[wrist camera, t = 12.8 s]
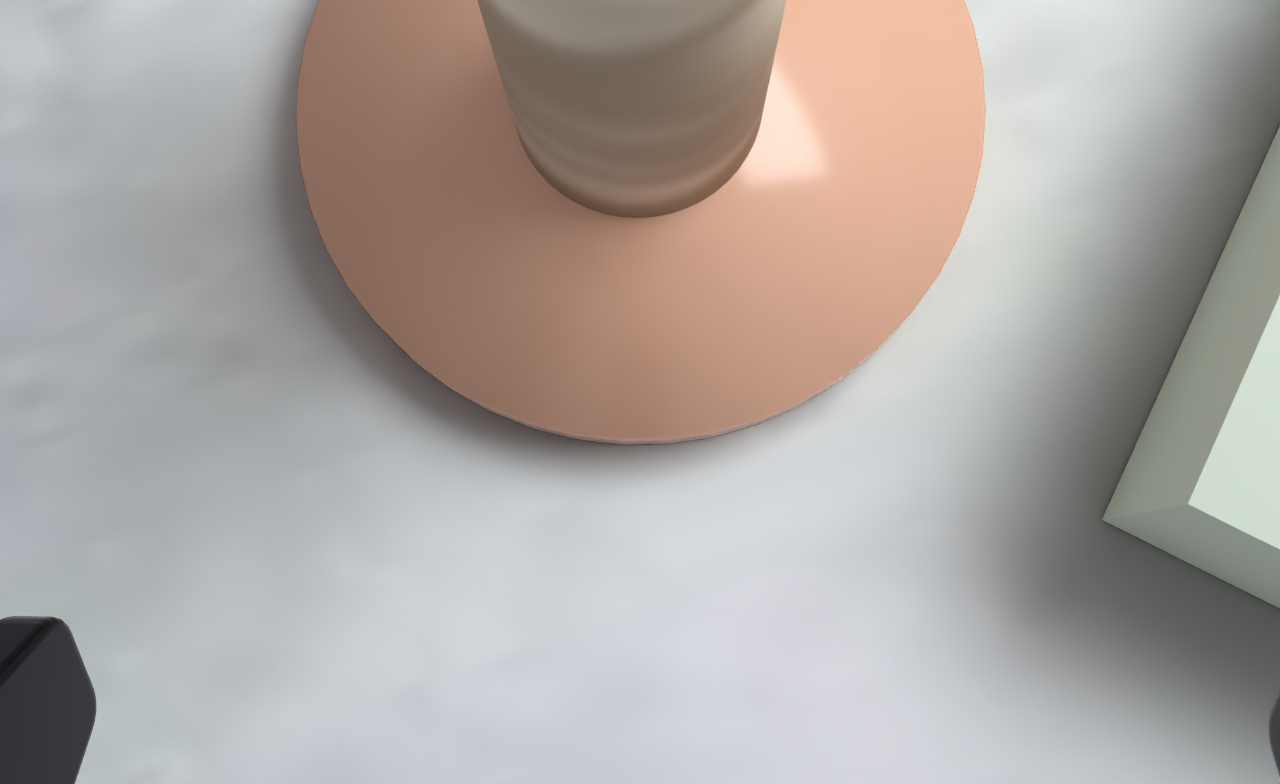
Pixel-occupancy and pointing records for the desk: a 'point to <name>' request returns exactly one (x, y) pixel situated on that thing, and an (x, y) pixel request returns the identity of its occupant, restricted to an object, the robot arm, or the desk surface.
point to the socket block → (1220, 417)
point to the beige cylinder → (635, 94)
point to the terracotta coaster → (641, 219)
